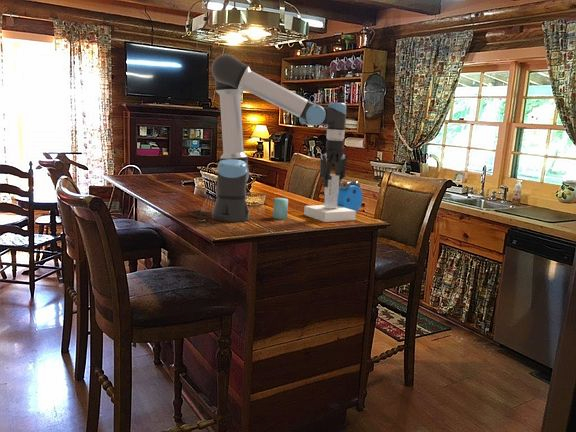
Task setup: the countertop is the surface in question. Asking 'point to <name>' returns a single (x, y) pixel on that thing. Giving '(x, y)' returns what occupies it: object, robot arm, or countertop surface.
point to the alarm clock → (350, 195)
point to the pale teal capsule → (280, 208)
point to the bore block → (329, 213)
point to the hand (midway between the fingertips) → (331, 194)
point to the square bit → (332, 192)
